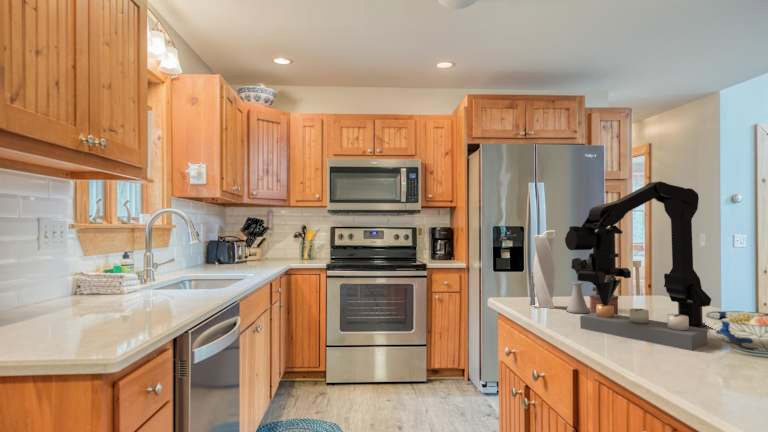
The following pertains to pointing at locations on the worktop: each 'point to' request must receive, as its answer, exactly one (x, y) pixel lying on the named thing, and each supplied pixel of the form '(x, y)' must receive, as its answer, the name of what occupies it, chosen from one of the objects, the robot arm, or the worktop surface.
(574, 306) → the flask
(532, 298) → the skyscraper
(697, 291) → the robot arm
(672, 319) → the knob
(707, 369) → the worktop surface
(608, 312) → the knob
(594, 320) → the knob mount
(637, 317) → the knob centre
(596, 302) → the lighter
